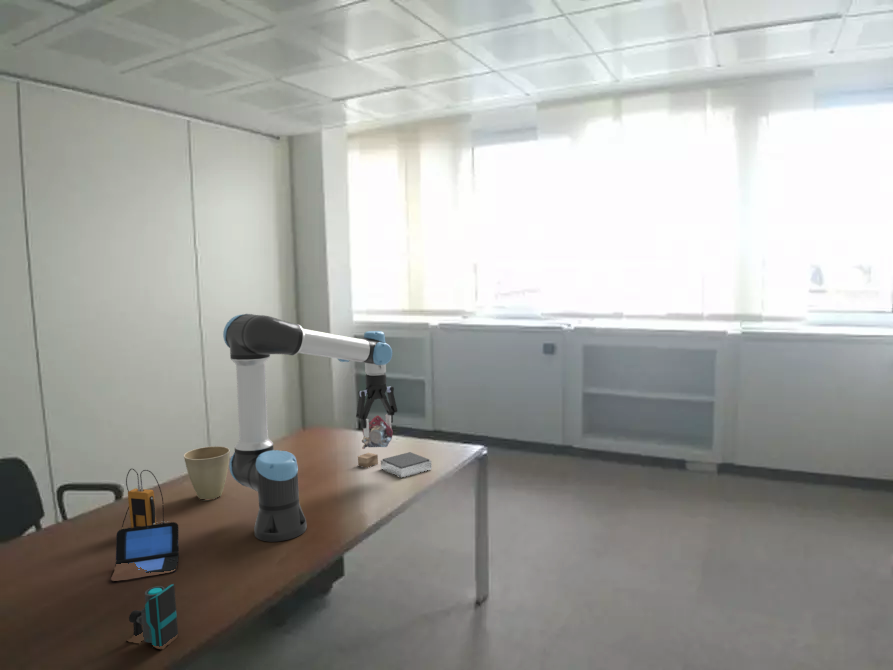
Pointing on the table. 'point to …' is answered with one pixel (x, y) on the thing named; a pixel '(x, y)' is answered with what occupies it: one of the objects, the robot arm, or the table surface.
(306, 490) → the table surface
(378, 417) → the brake caliper
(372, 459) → the brown rectangular block
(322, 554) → the table surface
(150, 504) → the multimeter
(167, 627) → the surveillance camera
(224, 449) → the plant pot
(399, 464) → the stand
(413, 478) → the table surface
